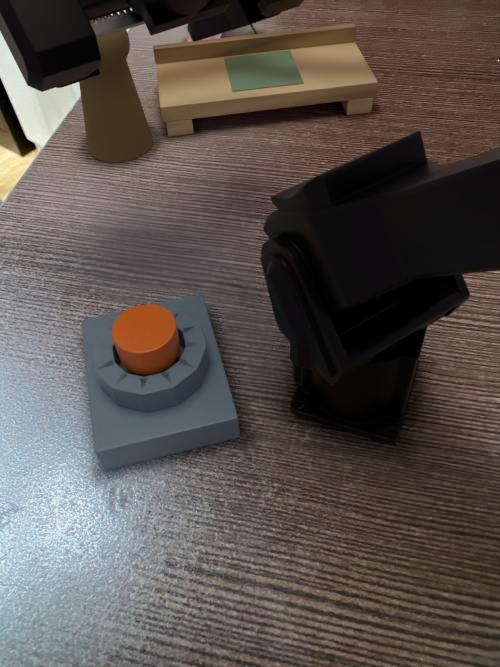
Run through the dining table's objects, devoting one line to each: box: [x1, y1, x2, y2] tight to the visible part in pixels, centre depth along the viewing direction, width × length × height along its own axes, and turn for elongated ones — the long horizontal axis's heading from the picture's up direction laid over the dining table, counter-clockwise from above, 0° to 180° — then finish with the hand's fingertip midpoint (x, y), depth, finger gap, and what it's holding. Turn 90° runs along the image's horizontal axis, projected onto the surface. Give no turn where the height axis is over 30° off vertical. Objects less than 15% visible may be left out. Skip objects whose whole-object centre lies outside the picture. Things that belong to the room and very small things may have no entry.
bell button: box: [112, 303, 181, 375], centre depth 34 cm, size 4×4×2 cm
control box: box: [81, 293, 241, 472], centre depth 36 cm, size 10×8×4 cm
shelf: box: [152, 23, 379, 138], centre depth 58 cm, size 9×20×4 cm, turn 99°
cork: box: [78, 14, 154, 163], centre depth 51 cm, size 6×6×11 cm
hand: (135, 53), depth 42 cm, fingers open, 9 cm apart
